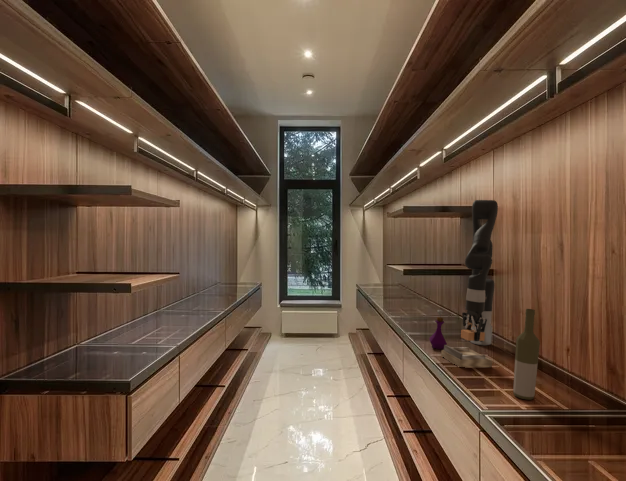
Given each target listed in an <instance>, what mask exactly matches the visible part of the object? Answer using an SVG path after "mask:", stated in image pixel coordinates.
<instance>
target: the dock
mask: <svg viewBox="0 0 626 481" xmlns="http://www.w3.org/2000/svg"><path fill="white" fill-rule="evenodd" d="M440 352H441V354H440V357H441V356H442V357H444V358H446V359H447V360H446V359H445V360H446V361H448V360H449V361H450V362H449V361H448V362H449V363H451V362H452V363H451V364H453V365H454V364H455V366H456V365H457V367H458V366H459V367H465V368H473V369H474V368H492V366H493V364H492V363H493V359H491V358H489V357H487V356H486V355H485V354H480V353H478V352H476V351H475V350H473V349H470V347H468V346H467V347H466V346H464V347H463V346H461V347H460V346H459V347H457V346H453V347H452V346H449V345H444V348H443V349H441V351H440ZM442 357H441V358H442ZM444 358H443V359H444ZM459 367H458V368H459ZM465 368H464V369H465Z"/></svg>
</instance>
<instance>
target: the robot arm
mask: <svg viewBox="0 0 626 481" xmlns="http://www.w3.org/2000/svg"><path fill="white" fill-rule="evenodd" d="M471 205H472V206H471V215H472V216H471V218H472V219H471V220H472V245H471V248H470V250H469V251H468V253H467V255H466V256H465V259H464V266H465V267H466V268H467V269H469V270H471V275H469V277H468V278H467V279H468V280H467V290H466V297H465V310H466V311H465V312H464V311H463V312H462V313H461V314H462V326H463V327H465V330H475V332H474V341H470V342H469V343H471V344H475V345H479V346H489V345H492V337H493V336H492V335H493V325H492V315H493V314H492V313H493V303H494V302H493V300H494V292H495V281H494V279H490V278H487V277H488V275H489V271H490V269H491V267H492V263H493V258H492V257H493V248H494V246H493V242H492V240H491V239H492V238H491V237H492V233H493V230H494V227H495V224H496V220H497V217H498V210H499V208H498V207H499V206H498V202H497V200H493V199H489V200H488V199H475V200H474V201H473V202H472V204H471ZM481 220H486V221H485V223H484V224H482V222H481ZM477 328H478V329H477ZM481 332H484V333H485V338H484V341H483V342H480V341H479V340H480V333H481Z"/></svg>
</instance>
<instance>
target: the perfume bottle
mask: <svg viewBox="0 0 626 481" xmlns="http://www.w3.org/2000/svg"><path fill="white" fill-rule="evenodd" d="M443 313H444V310H441V309H437V314H438V315H439V316H437V317H436V320H435V323H436V324H437V325H436V330H435V332H433V334H432V335H431V336H429V338H428V340H429V343H430V344H431V347H432V349H434V348H436V350H444V345H447V344H448V343H447V341H446V339H445V336H444V335H443V333H442V325H443V324H445V321H444V318H443V317H441V315H442V314H443ZM447 346H448V345H447Z"/></svg>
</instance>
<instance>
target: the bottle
mask: <svg viewBox="0 0 626 481" xmlns="http://www.w3.org/2000/svg"><path fill="white" fill-rule="evenodd" d="M535 315H536V310H535V309H531V308H526V309H525V319H524V329H523V331H522V333H520V334H519V335H518V336H516V341H515V342H516V343H515V354H514V355H515V356H514V372H513V374H514V376H513V389H512V390H513V391H512V392H513V393H512V394H513V395H514V396H515V397H517V398H519V399H521V400H527V401H530V400H534V398H535V396H536V394H535V392H536V383H537V373H538V364H539V354H540V353H539V352H540V344H541V343H540V339H539V338H538V337H537V336H536V334H535V332H534V325H535V324H534V323H535Z"/></svg>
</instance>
